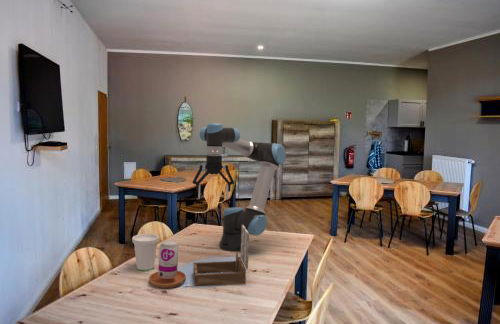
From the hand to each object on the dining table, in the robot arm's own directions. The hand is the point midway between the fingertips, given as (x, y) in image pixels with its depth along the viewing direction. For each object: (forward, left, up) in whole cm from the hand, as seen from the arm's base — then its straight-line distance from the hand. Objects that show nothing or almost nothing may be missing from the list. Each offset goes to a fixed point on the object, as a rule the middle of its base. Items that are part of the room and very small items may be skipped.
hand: (213, 198), depth 184 cm
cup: (-2, -32, -35) cm, 47 cm away
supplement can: (+16, -21, -32) cm, 42 cm away
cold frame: (+15, +2, -35) cm, 38 cm away
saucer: (+16, -21, -35) cm, 44 cm away
